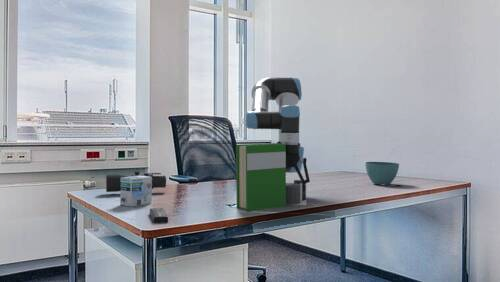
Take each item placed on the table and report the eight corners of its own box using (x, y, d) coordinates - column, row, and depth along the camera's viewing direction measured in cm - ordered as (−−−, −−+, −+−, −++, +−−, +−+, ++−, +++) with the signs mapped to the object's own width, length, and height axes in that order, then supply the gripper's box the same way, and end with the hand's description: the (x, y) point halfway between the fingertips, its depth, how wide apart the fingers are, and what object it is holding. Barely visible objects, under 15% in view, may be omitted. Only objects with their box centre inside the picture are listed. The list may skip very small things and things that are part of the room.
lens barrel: (293, 200, 170) (293, 181, 170) (293, 198, 175) (293, 179, 175) (306, 200, 169) (306, 181, 169) (306, 198, 174) (306, 180, 174)
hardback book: (247, 211, 146) (246, 145, 145) (236, 208, 152) (236, 144, 151) (285, 206, 156) (285, 143, 155) (274, 203, 162) (273, 143, 161)
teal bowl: (403, 184, 231) (404, 163, 231) (390, 187, 218) (391, 164, 217) (373, 181, 243) (373, 161, 243) (359, 184, 230) (359, 162, 229)
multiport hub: (153, 224, 126) (153, 217, 126) (149, 215, 140) (149, 208, 140) (168, 223, 128) (168, 216, 128) (162, 214, 141) (162, 207, 141)
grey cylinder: (277, 204, 160) (277, 184, 160) (278, 200, 169) (278, 182, 169) (300, 204, 159) (300, 185, 159) (300, 201, 168) (300, 182, 168)
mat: (275, 205, 160) (275, 204, 160) (278, 198, 176) (278, 197, 176) (306, 206, 159) (306, 205, 159) (306, 199, 175) (306, 198, 175)
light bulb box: (131, 207, 152) (131, 178, 152) (119, 205, 156) (119, 177, 155) (152, 203, 161) (152, 176, 161) (140, 201, 165) (140, 175, 165)
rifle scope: (166, 194, 185) (167, 172, 185) (106, 196, 176) (106, 173, 176) (163, 190, 195) (163, 170, 195) (106, 192, 186) (106, 171, 186)
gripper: (262, 143, 161) (261, 200, 162) (317, 144, 159) (316, 201, 159) (263, 143, 169) (263, 197, 169) (316, 144, 166) (315, 198, 166)
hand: (288, 199), depth 164 cm, fingers closed on grey cylinder, 9 cm apart
